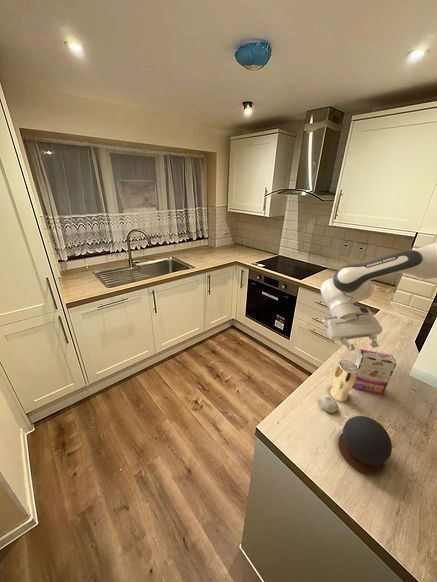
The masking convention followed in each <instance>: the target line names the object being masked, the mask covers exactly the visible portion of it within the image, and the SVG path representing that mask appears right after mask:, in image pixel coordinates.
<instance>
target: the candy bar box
mask: <svg viewBox="0 0 437 582" xmlns="http://www.w3.org/2000/svg"><path fill="white" fill-rule="evenodd" d="M354 363H355V364H356V365H357V366H358V368H359V372H358V376H357V379H356V381H355V383H354V385H353V386H352V388H354V389H358V390H362V391H365V392H370V393H374V394H379V395H384V393H385V391H386V389H387V386H388V384H389V383H390V382H389V381H390V380H391V377H392V375H393V372H394V370H395V368H396V366H397V360H395V358H394V355H393V354H388V353H383V352H378V351H373V350H367V349H362V348H360V349H359V351H358V353H357V357H356V360H355V362H354Z"/></svg>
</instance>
